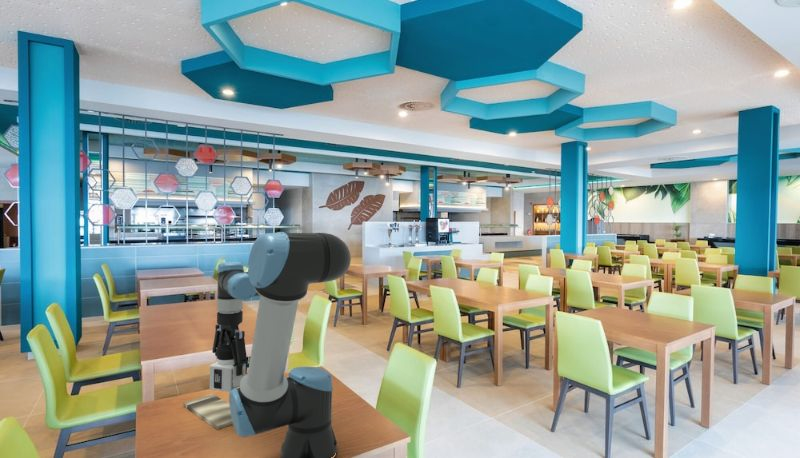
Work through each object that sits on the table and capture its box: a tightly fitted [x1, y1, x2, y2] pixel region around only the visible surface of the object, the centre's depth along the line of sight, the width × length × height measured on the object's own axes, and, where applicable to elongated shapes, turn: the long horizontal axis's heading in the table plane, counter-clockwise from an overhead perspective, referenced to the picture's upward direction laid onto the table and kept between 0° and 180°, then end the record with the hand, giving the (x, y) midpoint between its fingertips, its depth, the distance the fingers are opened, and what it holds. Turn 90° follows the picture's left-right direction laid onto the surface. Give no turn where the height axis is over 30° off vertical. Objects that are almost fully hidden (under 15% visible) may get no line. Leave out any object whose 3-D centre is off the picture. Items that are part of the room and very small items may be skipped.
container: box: [209, 344, 247, 393], centre depth 131 cm, size 8×8×13 cm
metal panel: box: [182, 393, 233, 431], centre depth 137 cm, size 24×10×1 cm, turn 50°
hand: (228, 380), depth 131 cm, fingers closed on container, 10 cm apart
